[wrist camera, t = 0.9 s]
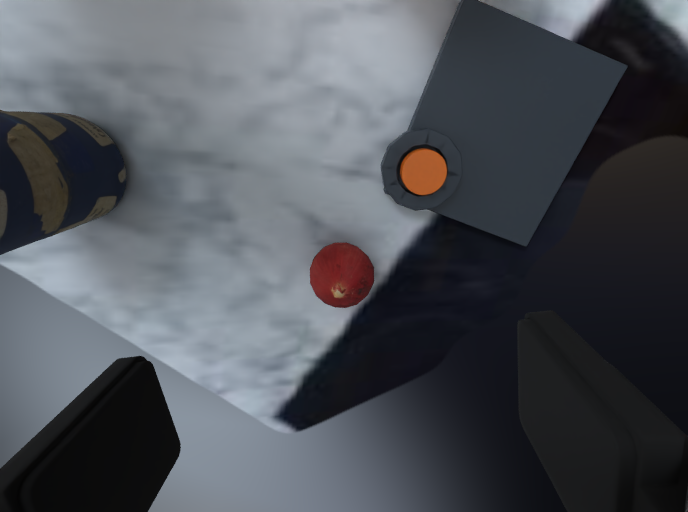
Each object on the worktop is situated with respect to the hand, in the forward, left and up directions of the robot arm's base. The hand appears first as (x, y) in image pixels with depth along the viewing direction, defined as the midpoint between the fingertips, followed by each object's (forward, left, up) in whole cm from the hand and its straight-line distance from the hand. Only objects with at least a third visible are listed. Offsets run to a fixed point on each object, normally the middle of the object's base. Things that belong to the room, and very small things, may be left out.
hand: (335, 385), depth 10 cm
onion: (+2, -7, -28) cm, 29 cm away
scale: (+10, +9, -28) cm, 31 cm away
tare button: (+5, +4, -25) cm, 26 cm away
